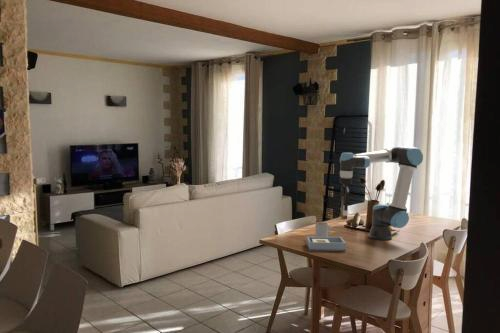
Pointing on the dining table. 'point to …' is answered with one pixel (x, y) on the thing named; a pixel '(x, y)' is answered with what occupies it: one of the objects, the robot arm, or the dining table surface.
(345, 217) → the peg
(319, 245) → the crate
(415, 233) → the dining table surface
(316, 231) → the mug
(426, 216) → the dining table surface
